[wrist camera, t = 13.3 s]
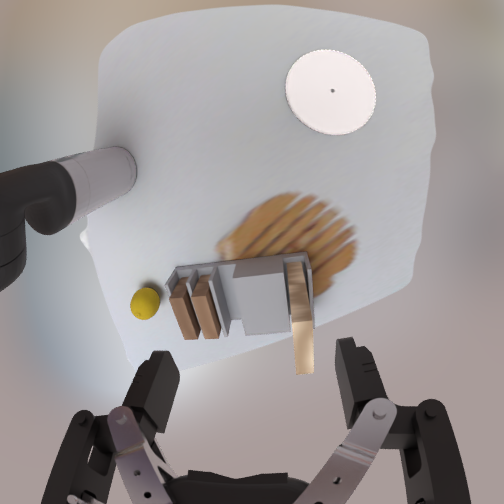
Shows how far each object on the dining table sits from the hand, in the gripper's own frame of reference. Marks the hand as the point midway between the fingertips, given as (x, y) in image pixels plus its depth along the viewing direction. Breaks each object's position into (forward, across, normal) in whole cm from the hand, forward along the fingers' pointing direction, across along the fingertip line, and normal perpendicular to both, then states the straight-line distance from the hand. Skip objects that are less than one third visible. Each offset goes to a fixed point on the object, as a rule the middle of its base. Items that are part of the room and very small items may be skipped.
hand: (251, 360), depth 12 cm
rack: (+34, +6, +17) cm, 39 cm away
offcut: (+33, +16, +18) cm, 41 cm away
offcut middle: (+33, +12, +17) cm, 39 cm away
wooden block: (+33, -4, +17) cm, 37 cm away
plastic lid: (+35, -13, -15) cm, 40 cm away
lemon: (+35, +25, +17) cm, 46 cm away
